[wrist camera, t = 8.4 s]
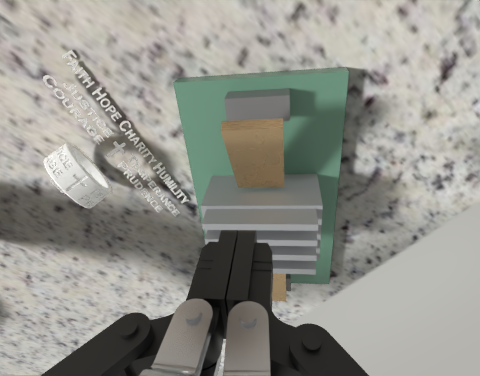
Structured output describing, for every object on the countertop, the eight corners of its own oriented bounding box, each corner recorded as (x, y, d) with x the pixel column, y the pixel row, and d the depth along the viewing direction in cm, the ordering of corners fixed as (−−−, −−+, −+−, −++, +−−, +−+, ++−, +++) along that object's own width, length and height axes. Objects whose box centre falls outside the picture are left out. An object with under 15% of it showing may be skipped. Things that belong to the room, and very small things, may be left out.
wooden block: (284, 178, 27) (284, 187, 27) (238, 179, 27) (238, 187, 27) (282, 118, 20) (283, 128, 20) (221, 121, 20) (220, 130, 20)
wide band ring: (-16, 116, 29) (-51, 119, 23) (76, 55, 30) (66, 43, 24) (117, 247, 36) (117, 275, 30) (186, 193, 37) (199, 211, 31)
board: (327, 274, 38) (337, 340, 31) (215, 271, 40) (200, 332, 33) (345, 67, 25) (370, 98, 18) (178, 78, 27) (141, 110, 20)
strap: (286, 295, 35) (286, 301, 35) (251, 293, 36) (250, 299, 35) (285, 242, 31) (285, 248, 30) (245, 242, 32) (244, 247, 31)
